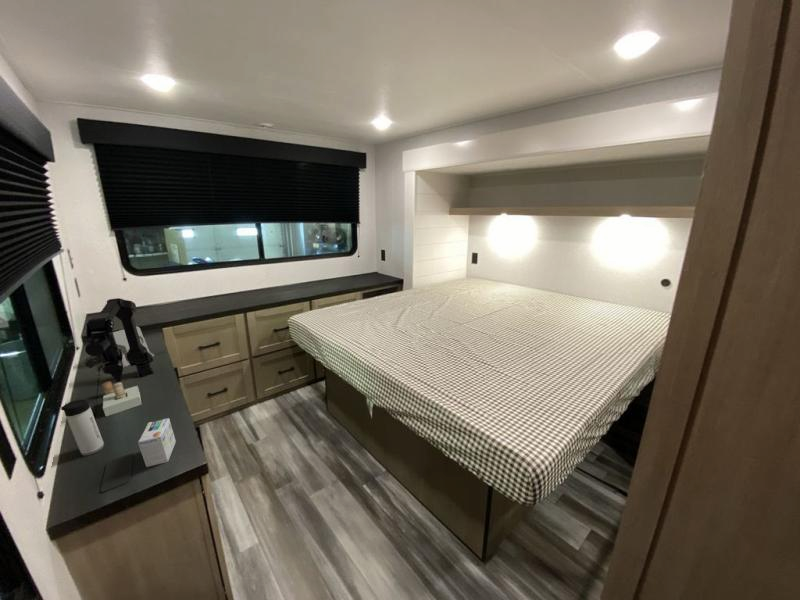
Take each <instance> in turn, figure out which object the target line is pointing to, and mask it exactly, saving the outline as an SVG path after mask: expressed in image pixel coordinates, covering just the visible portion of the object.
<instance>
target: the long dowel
mask: <svg viewBox="0 0 800 600" xmlns="http://www.w3.org/2000/svg"><path fill="white" fill-rule="evenodd" d="M112 386H113V389H114V392H115V395H116V398H117V400H118V399H121V398H125V397H126V394H125V391H124V390H125V388H124V385H123V382H116V383H114V384H112Z"/></svg>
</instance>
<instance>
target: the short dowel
mask: <svg viewBox="0 0 800 600" xmlns="http://www.w3.org/2000/svg"><path fill="white" fill-rule="evenodd" d="M102 389H103V391H104V393H105V395H108V394H111V393H115V392H114V389H113V384H112V381H105V382H104V383H102Z"/></svg>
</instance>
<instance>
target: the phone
mask: <svg viewBox="0 0 800 600" xmlns="http://www.w3.org/2000/svg"><path fill="white" fill-rule="evenodd" d="M134 458H135V454H134V453H128V454H125V455H122V456H120V457H117V458H114V459H112V460H109V461H108V462H107V463H106V465H105V470H104V474H103V476H102V481H101V485H100V493H101V494H103V493H107V492H109V491H111V490H114V489H117V488H119V487H122V486H125V485H127V484H129V482H131V477H132V471H133V465H134Z"/></svg>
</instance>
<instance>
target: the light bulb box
mask: <svg viewBox="0 0 800 600" xmlns="http://www.w3.org/2000/svg"><path fill="white" fill-rule="evenodd" d="M176 442H177V440H176V438H175V434H174V430H173V428H172V424H171V420H170V418H168V417H167V418H163V419H158V420H155V421H149V422H148V423H147V424H146V426H145V429H144V431H143V433H142V434H141V436H140V438H139V440H138V441H137V444H138V447H139V450H140V453H141V455H142V456H141V457H143V461H144V464H145V467H146V468H149V467H153V466H156V465H161V464H164V463H168V462H169V460H170V457H171V455H172V452H173V450H174V447H175V444H176Z"/></svg>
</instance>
